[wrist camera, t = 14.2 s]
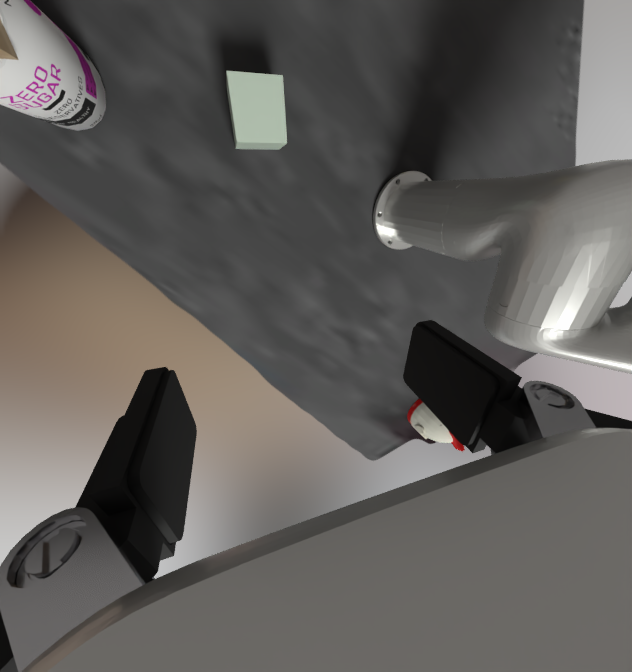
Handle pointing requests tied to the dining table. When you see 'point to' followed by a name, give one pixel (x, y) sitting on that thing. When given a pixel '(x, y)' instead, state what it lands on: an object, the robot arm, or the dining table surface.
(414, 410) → the white and red dome
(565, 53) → the dining table surface
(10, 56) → the beech cube
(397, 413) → the dining table surface
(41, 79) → the supplement can
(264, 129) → the sage cube
